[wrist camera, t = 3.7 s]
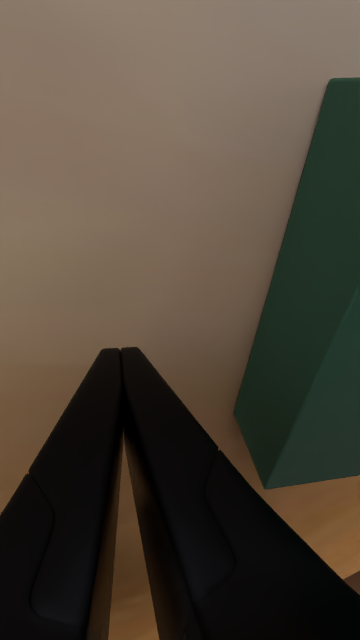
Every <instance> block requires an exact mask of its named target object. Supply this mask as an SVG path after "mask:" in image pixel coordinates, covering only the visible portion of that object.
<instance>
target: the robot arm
mask: <svg viewBox="0 0 360 640" xmlns="http://www.w3.org/2000/svg"><path fill="white" fill-rule="evenodd" d="M123 434H124V444H125V450H126V456H127V462H128V467H129V473H130V478H131V484H132V489H133V495H134V501H135V506H136V512H137V517H138V523H139V528H140V534H141V540H142V545H143V551H144V556H145V562H146V568H147V573H148V579H149V584H150V590H151V595H152V601H153V607H154V612H155V618H156V623H157V629H158V634H159V640H360V595H359V594H358V593H357V592H356V591H355V590H353V589H352V588H351V587H350V586H349V585H348V584H346V583H345V581H343V580H342V579H341V578H340V577H339V576H338V575H337V574H336V573H335V572H334V571H333V570H332V569H331V568H330V567H329V566H328V565H327V564H326V563H325V562H324V561H323V560H322V559H321V558H320V557H319V556H318V555H317V554H316V553H315V552H314V551H313V550H312V549H311V548H310V547H309V546H308V545H307V543H306V542H305V541H304V540H303V539H302V538H301V537H300V536H299V535H298V534H297V533H296V532H295V531H294V530H293V529H292V528H291V527H290V526H289V525H288V524H287V523H286V522H285V521H284V520H283V519H282V518H281V517H280V516H279V515H278V514H277V513H276V512H275V511H274V510H273V509H272V508H271V507H270V506H269V505H268V504H267V503H266V502H265V501H264V500H263V499H262V498H261V497H260V495H259V494H258V493H257V492H256V491H255V490H254V489H253V488H252V487H251V486H250V485H249V484H248V482H247V481H246V480H245V479H244V478H243V476H242V475H241V474H240V473H239V472H238V471H237V469H236V468H235V467H234V466H233V465H232V463H231V462H230V461H229V460H228V458H227V457H226V456H225V455H224V453H223V452H222V451H221V450H218V446H217V445H216V444H215V442H214V441H213V440H212V439H211V437H210V436H209V435H208V434H207V433H206V431H205V430H204V429H203V428H202V426H201V425H200V424H199V423H198V421H197V420H196V419H195V418H194V416H193V415H192V414H191V413H190V411H189V410H188V409H187V408H186V406H185V405H184V404H183V403H182V401H181V400H180V399H179V398H178V396H177V395H176V394H175V393H174V391H173V390H172V389H171V388H170V386H169V385H168V384H167V383H166V381H165V380H164V379H163V378H162V376H161V375H160V374H159V373H158V372H157V370H156V369H155V368H154V367H153V365H152V364H151V363H150V362H149V360H148V359H147V358H146V357H145V355H144V354H143V353H142V352H141V350H140V349H139V348H137V347H126V348H121V350H120V349H118V348H106V349H102V350H101V351H100V353H99V355H98V356H97V358H96V360H95V361H94V363H93V364H92V366H91V368H90V369H89V371H88V373H87V374H86V376H85V378H84V379H83V381H82V383H81V384H80V386H79V388H78V389H77V391H76V393H75V394H74V396H73V398H72V399H71V401H70V402H69V404H68V406H67V407H66V409H65V411H64V412H63V414H62V416H61V417H60V419H59V421H58V422H57V424H56V426H55V427H54V429H53V431H52V432H51V434H50V436H49V437H48V439H47V440H46V442H45V444H44V445H43V447H42V449H41V450H40V452H39V454H38V455H37V457H36V459H35V460H34V462H33V464H32V465H31V467H30V469H29V474H26V475H25V477H24V478H23V480H22V481H21V483H20V485H19V486H18V488H17V490H16V491H15V493H14V495H13V496H12V498H11V499H10V501H9V502H8V504H7V506H6V507H5V509H4V510H3V512H2V513H1V515H0V640H108V635H109V622H110V609H111V596H112V583H113V570H114V557H115V544H116V531H117V518H118V505H119V492H120V479H121V466H122V453H123Z"/></svg>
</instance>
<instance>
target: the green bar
mask: <svg viewBox="0 0 360 640" xmlns="http://www.w3.org/2000/svg"><path fill="white" fill-rule="evenodd" d="M234 415H235V418H236V420H237V423H238V425H239V428H240V430H241V433H242V435H243V438H244V440H245V443H246V445H247V448H248V450H249V453H250V455H251V458H252V460H253V463H254V465H255V468H256V470H257V473H258V475H259V478H260V480H261V483H262V485H263V488H264V489H273V488H279V487H286V486H293V485H299V484H306V483H312V482H319V481H325V480H332V479H338V478H345V477H351V476H358V475H360V78H333V79H331V80H330V81H329V83H328V86H327V90H326V93H325V97H324V100H323V104H322V107H321V111H320V114H319V118H318V121H317V125H316V128H315V132H314V135H313V138H312V142H311V145H310V149H309V152H308V156H307V159H306V163H305V166H304V170H303V173H302V177H301V180H300V184H299V187H298V191H297V194H296V198H295V201H294V204H293V208H292V211H291V215H290V218H289V222H288V225H287V229H286V232H285V236H284V239H283V243H282V246H281V250H280V253H279V257H278V260H277V264H276V267H275V271H274V274H273V277H272V281H271V284H270V288H269V291H268V295H267V298H266V302H265V305H264V309H263V312H262V316H261V319H260V323H259V326H258V330H257V333H256V337H255V340H254V344H253V347H252V350H251V354H250V357H249V361H248V364H247V368H246V371H245V375H244V378H243V382H242V385H241V389H240V392H239V396H238V399H237V403H236V406H235V410H234Z"/></svg>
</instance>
